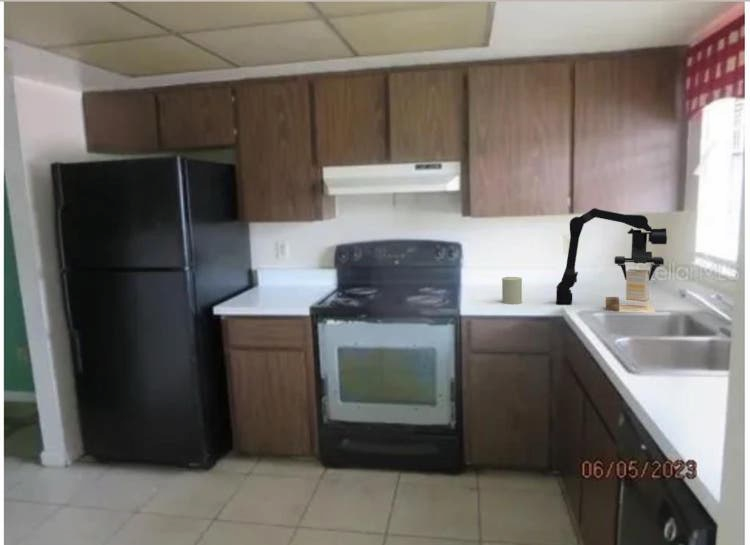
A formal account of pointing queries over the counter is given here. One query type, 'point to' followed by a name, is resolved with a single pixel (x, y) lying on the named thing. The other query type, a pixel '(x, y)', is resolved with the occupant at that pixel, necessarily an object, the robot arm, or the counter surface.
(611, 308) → the walnut cube
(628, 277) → the supplement box
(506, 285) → the can
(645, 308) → the letter
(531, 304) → the counter surface
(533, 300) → the counter surface
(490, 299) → the counter surface
